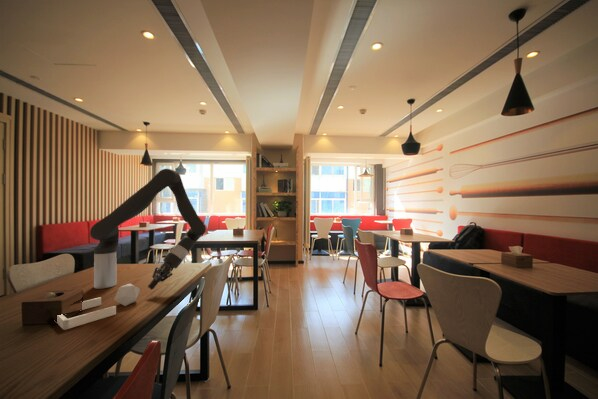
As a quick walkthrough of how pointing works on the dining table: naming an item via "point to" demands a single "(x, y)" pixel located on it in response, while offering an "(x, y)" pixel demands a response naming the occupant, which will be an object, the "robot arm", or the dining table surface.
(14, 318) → the dining table surface
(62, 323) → the corral
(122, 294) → the die
